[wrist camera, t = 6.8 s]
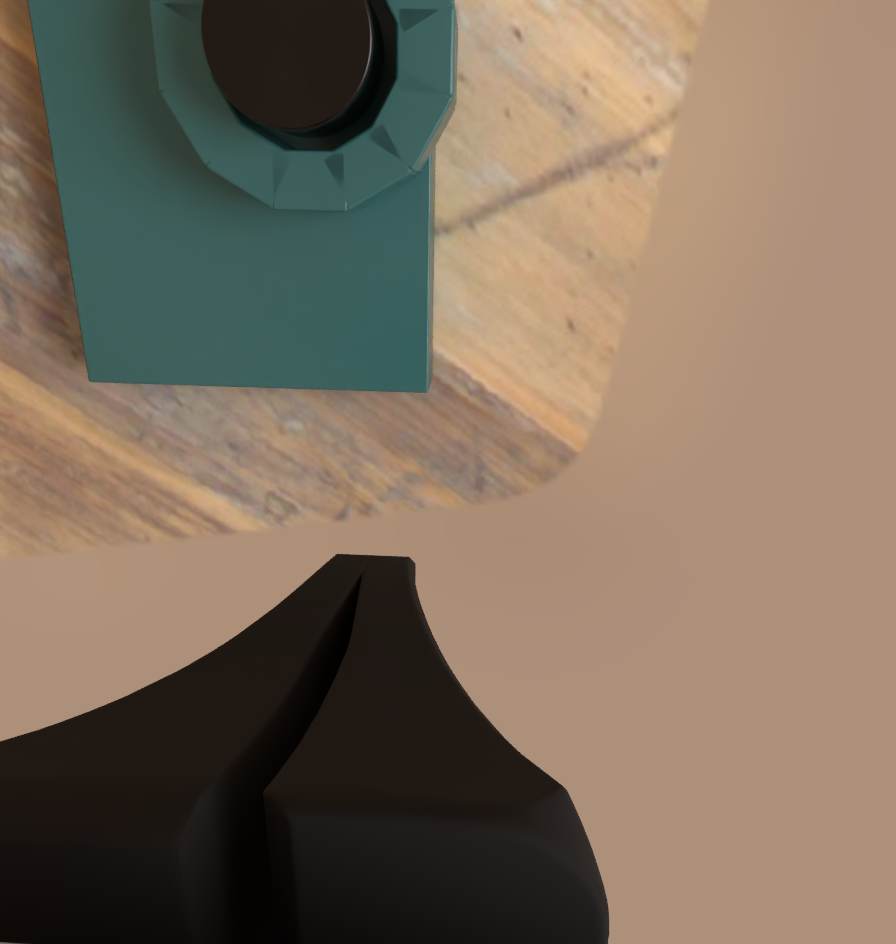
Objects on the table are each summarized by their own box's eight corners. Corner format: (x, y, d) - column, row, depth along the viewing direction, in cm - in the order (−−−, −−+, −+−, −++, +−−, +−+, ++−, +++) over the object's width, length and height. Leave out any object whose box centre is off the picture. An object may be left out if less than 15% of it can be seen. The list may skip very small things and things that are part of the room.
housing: (451, 378, 20) (446, 413, 17) (118, 367, 21) (50, 400, 17) (464, -151, 16) (461, -240, 13) (42, -155, 16) (-68, -244, 13)
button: (385, 139, 15) (374, 133, 14) (236, 136, 15) (208, 129, 14) (384, -39, 14) (371, -69, 13) (223, -42, 14) (190, -71, 13)
